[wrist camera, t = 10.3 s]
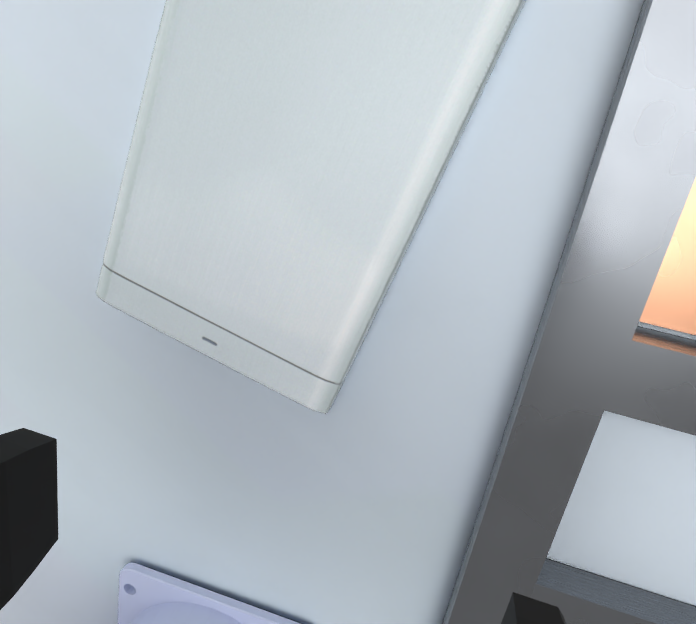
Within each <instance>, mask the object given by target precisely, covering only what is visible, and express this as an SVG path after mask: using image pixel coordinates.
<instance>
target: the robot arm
mask: <svg viewBox="0 0 696 624" xmlns="http://www.w3.org/2000/svg"><path fill="white" fill-rule="evenodd" d="M57 540H58V502H57V442H56V439H55V438H52V437H49V436H46V435H43V434H40V433H37V432H34V431H31V430H28V429H25V428H22V429H18V430H15V431H12V432H8V433H5V434H2V435H0V610H1V609H2V608H3V607H4V606H5V605H6V604H7V602H8V601H9V600H10V599H11V598H12V597H13V596H14V595H15V594H16V592H17V591H18V590H19V589H20V587H21V586H22V585H23V584H24V582H25V581H26V580H27V579H28V578H29V576H30V575H31V574H32V573H33V571H34V570H35V569H36V567H37V566H38V565H39V563H40V562H41V561H42V559H43V558H44V557H45V555H46V554H47V553H48V552H49V550H50V549H51V548H52V546H53V545H54V544H55V542H56V541H57ZM118 624H300V623H297V622H295V621H292V620H289V619H287V618H284V617H281V616H278V615H276V614H273V613H270V612H267V611H265V610H262V609H259V608H257V607H254V606H251V605H248V604H246V603H243V602H240V601H237V600H235V599H232V598H229V597H227V596H224V595H221V594H218V593H216V592H213V591H210V590H207V589H205V588H202V587H199V586H197V585H194V584H191V583H188V582H186V581H183V580H180V579H177V578H175V577H172V576H169V575H167V574H164V573H161V572H158V571H156V570H153V569H150V568H147V567H145V566H142V565H139V564H136V563H127V564H126V565H125V566H124V567H123V569H122V570H121V571H120V574H119V599H118ZM501 624H566V622H565V619H564V616H563V615H562V613H561V611H560V609H559V608H558V607H556V606H553V605H550V604H547V603H544V602H542V601H539V600H536V599H533V598H530V597H527V596H524V595H521V594H518V593H515V592H513V593H512V596H511V598H510V601H509V604H508V606H507V609H506V612H505V614H504V617H503V619H502V622H501Z"/></svg>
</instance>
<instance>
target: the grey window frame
mask: <svg viewBox="0 0 696 624" xmlns="http://www.w3.org/2000/svg"><path fill="white" fill-rule="evenodd" d="M639 321H640V322H644V323H648V324H652V325H656V326H660V327H664V328H668V329H672V330H676V331H680V332H685V333H689V334H693V335H696V0H644V4H643V7H642V10H641V13H640V16H639V19H638V22H637V25H636V28H635V31H634V34H633V37H632V41H631V44H630V47H629V50H628V53H627V56H626V59H625V62H624V65H623V68H622V71H621V74H620V78H619V81H618V84H617V87H616V90H615V93H614V96H613V99H612V102H611V105H610V108H609V112H608V115H607V118H606V121H605V124H604V127H603V130H602V133H601V136H600V139H599V142H598V145H597V149H596V152H595V155H594V158H593V161H592V164H591V167H590V170H589V173H588V176H587V179H586V182H585V186H584V189H583V192H582V195H581V198H580V201H579V204H578V207H577V210H576V213H575V216H574V219H573V223H572V226H571V229H570V232H569V235H568V238H567V241H566V244H565V247H564V250H563V253H562V257H561V260H560V263H559V266H558V269H557V272H556V275H555V278H554V281H553V284H552V287H551V290H550V294H549V297H548V300H547V303H546V306H545V309H544V312H543V315H542V318H541V321H540V324H539V327H538V331H537V334H536V337H535V340H534V343H533V346H532V349H531V352H530V355H529V358H528V361H527V364H526V368H525V371H524V374H523V377H522V380H521V383H520V386H519V389H518V392H517V395H516V398H515V402H514V405H513V408H512V411H511V414H510V417H509V420H508V423H507V426H506V429H505V432H504V435H503V439H502V442H501V445H500V448H499V451H498V454H497V457H496V460H495V463H494V466H493V469H492V472H491V476H490V479H489V482H488V485H487V488H486V491H485V494H484V497H483V500H482V503H481V506H480V509H479V513H478V516H477V519H476V522H475V525H474V528H473V531H472V534H471V537H470V540H469V543H468V547H467V550H466V553H465V556H464V559H463V562H462V565H461V568H460V571H459V574H458V577H457V580H456V584H455V587H454V590H453V593H452V596H451V599H450V602H449V605H448V608H447V611H446V614H445V617H444V621H443V624H501V622H502V619H503V617H504V614H505V612H506V609H507V606H508V604H509V601H510V598H511V596H512V593H513V592H515V593H518V594H521V595H524V596H527V597H530V598H533V599H536V600H539V601H542V602H544V603H547V604H550V605H553V606H556V607H558V608H559V609H560V611H561V613H562V615H563V616H564V619H565V622H566V624H696V607H695V606H691V605H688V604H685V603H682V602H679V601H676V600H673V599H670V598H667V597H664V596H660V595H657V594H654V593H651V592H648V591H645V590H642V589H639V588H636V587H633V586H629V585H626V584H623V583H620V582H617V581H614V580H611V579H608V578H605V577H601V576H598V575H595V574H592V573H589V572H586V571H583V570H580V569H577V568H574V567H570V566H567V565H564V564H561V563H558V562H555V561H552V560H549V559H546V557H547V554H548V552H549V549H550V547H551V544H552V541H553V539H554V536H555V534H556V531H557V529H558V526H559V524H560V521H561V519H562V516H563V514H564V511H565V508H566V506H567V503H568V501H569V498H570V496H571V493H572V491H573V488H574V486H575V483H576V480H577V478H578V475H579V473H580V470H581V468H582V465H583V463H584V460H585V458H586V455H587V452H588V450H589V447H590V445H591V442H592V440H593V437H594V435H595V432H596V430H597V427H598V425H599V422H600V419H601V417H602V414H603V412H604V410H605V411H609V412H612V413H616V414H620V415H623V416H627V417H631V418H634V419H638V420H641V421H645V422H649V423H652V424H656V425H660V426H663V427H667V428H671V429H674V430H678V431H681V432H685V433H689V434H692V435H696V341H695V340H691V339H687V338H683V337H679V336H675V335H671V334H667V333H663V332H659V331H655V330H651V329H647V328H643V327H639V326H637V325H638V323H639Z"/></svg>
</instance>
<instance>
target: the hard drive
mask: <svg viewBox="0 0 696 624" xmlns="http://www.w3.org/2000/svg"><path fill="white" fill-rule="evenodd" d="M525 1H526V0H166V2H165V6H164V11H163V14H162V18H161V22H160V26H159V30H158V34H157V37H156V42H155V46H154V50H153V54H152V57H151V62H150V66H149V70H148V75H147V79H146V83H145V87H144V91H143V96H142V100H141V104H140V108H139V112H138V116H137V120H136V124H135V129H134V133H133V137H132V141H131V145H130V149H129V154H128V157H127V161H126V167H125V170H124V174H123V178H122V182H121V186H120V191H119V195H118V199H117V203H116V208H115V212H114V217H113V221H112V226H111V230H110V233H109V237H108V242H107V246H106V250H105V254H104V259H103V265H102V268H101V273H100V277H99V281H98V286H97V290H96V295H97V296H98V297H99V298H100V299H101V300H103V301H104V302H106V303H107V304H109V305H111V306H112V307H114V308H116V309H118V310H120V311H122V312H124V313H126V314H128V315H130V316H132V317H133V318H135V319H137V320H139V321H141V322H143V323H145V324H147V325H149V326H150V327H152V328H154V329H156V330H158V331H160V332H162V333H164V334H166V335H168V336H170V337H172V338H174V339H176V340H177V341H179V342H181V343H183V344H185V345H187V346H189V347H191V348H193V349H195V350H196V351H198V352H200V353H202V354H204V355H206V356H208V357H210V358H212V359H214V360H216V361H218V362H219V363H221V364H223V365H225V366H227V367H229V368H231V369H233V370H235V371H237V372H239V373H241V374H242V375H244V376H246V377H248V378H250V379H252V380H254V381H256V382H258V383H260V384H262V385H264V386H266V387H268V388H270V389H272V390H273V391H275V392H277V393H279V394H281V395H283V396H285V397H287V398H289V399H291V400H293V401H295V402H297V403H299V404H301V405H303V406H305V407H307V408H309V409H312V410H314V411H317V412H321V413H325V414H326V413H328V411H329V410H330V408H331V406H332V404H333V402H334V400H335V398H336V396H337V394H338V392H339V390H340V388H341V386H342V384H343V382H344V380H345V378H346V375H347V373H348V371H349V369H350V367H351V365H352V363H353V361H354V359H355V357H356V355H357V353H358V351H359V349H360V347H361V345H362V343H363V341H364V339H365V336H366V334H367V332H368V330H369V328H370V326H371V324H372V322H373V320H374V318H375V316H376V313H377V311H378V309H379V307H380V305H381V303H382V301H383V299H384V297H385V295H386V293H387V291H388V288H389V286H390V284H391V282H392V280H393V278H394V276H395V274H396V272H397V270H398V268H399V266H400V263H401V261H402V259H403V257H404V255H405V253H406V251H407V249H408V246H409V244H410V242H411V240H412V238H413V236H414V234H415V232H416V230H417V228H418V226H419V224H420V221H421V219H422V217H423V215H424V213H425V211H426V209H427V207H428V205H429V202H430V200H431V198H432V196H433V194H434V192H435V190H436V188H437V186H438V183H439V181H440V179H441V177H442V175H443V173H444V171H445V169H446V167H447V165H448V163H449V161H450V158H451V156H452V154H453V152H454V150H455V148H456V146H457V144H458V142H459V140H460V138H461V135H462V133H463V131H464V129H465V127H466V125H467V123H468V121H469V119H470V117H471V114H472V112H473V110H474V108H475V106H476V104H477V102H478V100H479V98H480V96H481V94H482V91H483V89H484V87H485V85H486V83H487V81H488V79H489V77H490V75H491V72H492V70H493V68H494V66H495V64H496V62H497V60H498V58H499V56H500V53H501V51H502V49H503V47H504V45H505V43H506V41H507V39H508V37H509V35H510V32H511V30H512V28H513V26H514V24H515V22H516V20H517V18H518V16H519V14H520V12H521V9H522V7H523V5H524V3H525Z"/></svg>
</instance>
